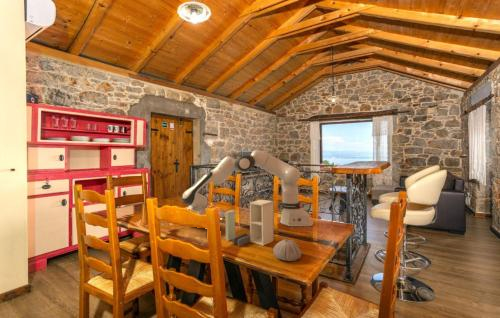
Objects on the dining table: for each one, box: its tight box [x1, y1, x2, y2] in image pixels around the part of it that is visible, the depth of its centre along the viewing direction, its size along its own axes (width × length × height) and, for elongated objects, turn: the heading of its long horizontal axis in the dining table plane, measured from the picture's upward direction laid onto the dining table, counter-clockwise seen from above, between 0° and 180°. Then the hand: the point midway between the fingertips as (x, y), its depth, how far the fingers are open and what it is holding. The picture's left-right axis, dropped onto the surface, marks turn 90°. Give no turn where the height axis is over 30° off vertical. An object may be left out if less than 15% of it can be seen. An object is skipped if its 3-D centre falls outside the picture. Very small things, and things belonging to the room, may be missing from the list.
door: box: [224, 209, 236, 242], centre depth 145 cm, size 3×6×16 cm, turn 140°
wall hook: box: [209, 205, 225, 218], centre depth 190 cm, size 8×10×10 cm
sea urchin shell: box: [272, 239, 302, 262], centre depth 119 cm, size 13×14×8 cm
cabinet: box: [232, 199, 275, 247], centre depth 138 cm, size 14×19×22 cm
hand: (216, 220), depth 152 cm, fingers open, 8 cm apart
